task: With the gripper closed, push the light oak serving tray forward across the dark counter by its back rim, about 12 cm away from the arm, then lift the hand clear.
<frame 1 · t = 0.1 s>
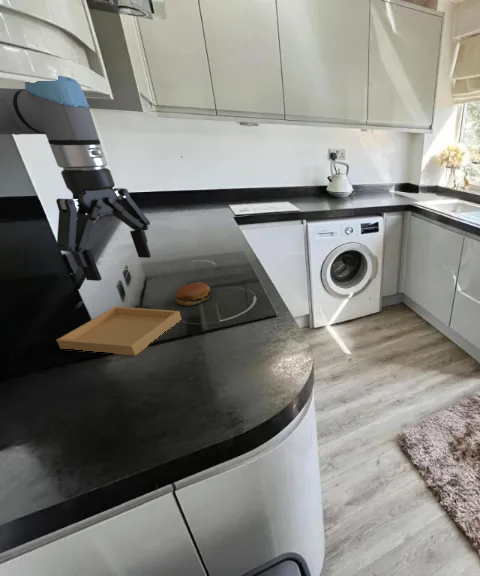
hand: (121, 267, 73), 20 cm above the table, tool pointing down, fingers open, 13 cm apart
burger: (195, 300, 102), on the table
tray: (126, 333, 85), on the table
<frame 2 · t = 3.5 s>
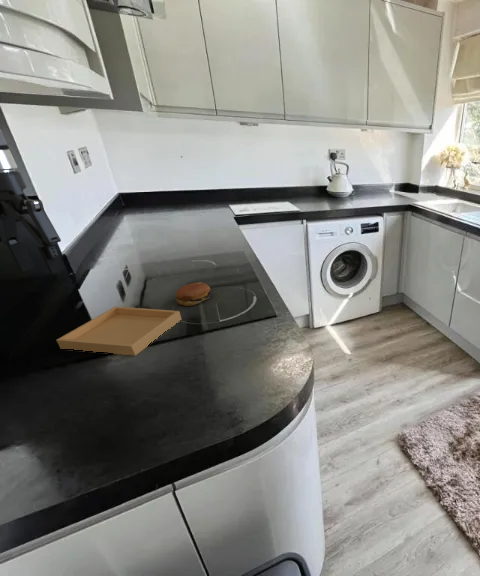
hand: (42, 270, 79), 17 cm above the table, tool pointing down, fingers open, 7 cm apart
nothing on the table moved.
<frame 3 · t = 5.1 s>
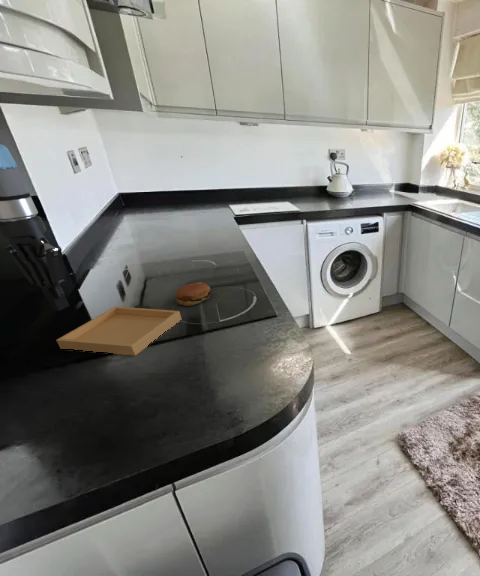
hand: (61, 308, 83), 6 cm above the table, tool pointing down, fingers closed
nothing on the table moved.
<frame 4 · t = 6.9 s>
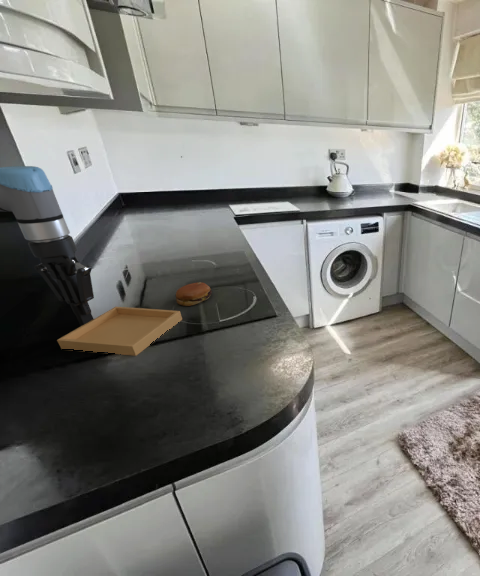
hand: (87, 324, 85), 2 cm above the table, tool pointing down, fingers closed
tray: (126, 333, 85), on the table, touching gripper
everything else where it was.
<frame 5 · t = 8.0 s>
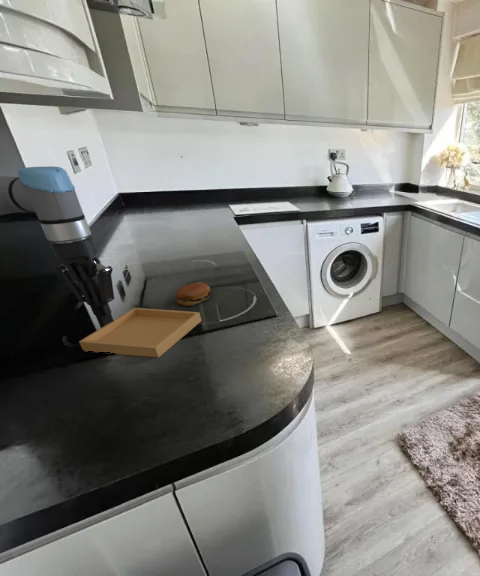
hand: (107, 325, 84), 2 cm above the table, tool pointing down, fingers closed
tray: (147, 334, 84), on the table, touching gripper
everything else where it was.
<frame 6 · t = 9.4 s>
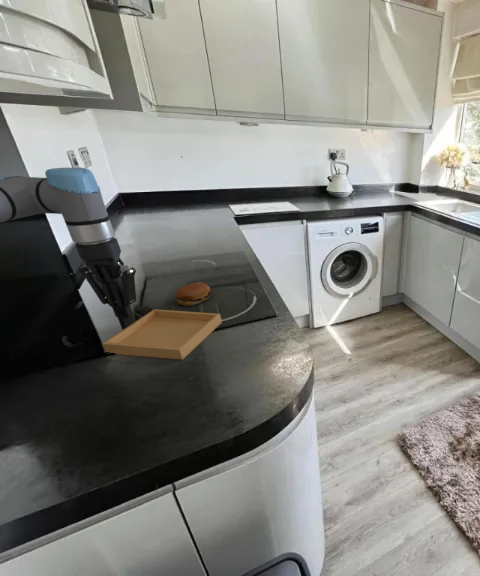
hand: (129, 327, 84), 2 cm above the table, tool pointing down, fingers closed
tray: (168, 336, 84), on the table, touching gripper
everything else where it was.
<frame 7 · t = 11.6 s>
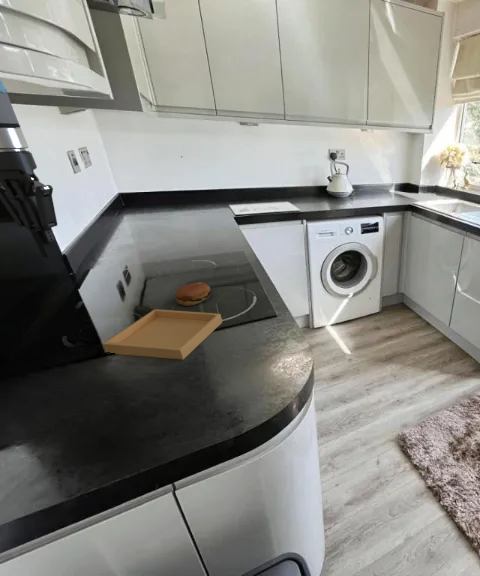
hand: (51, 255, 78), 21 cm above the table, tool pointing down, fingers closed
tray: (169, 336, 84), on the table
everything else where it was.
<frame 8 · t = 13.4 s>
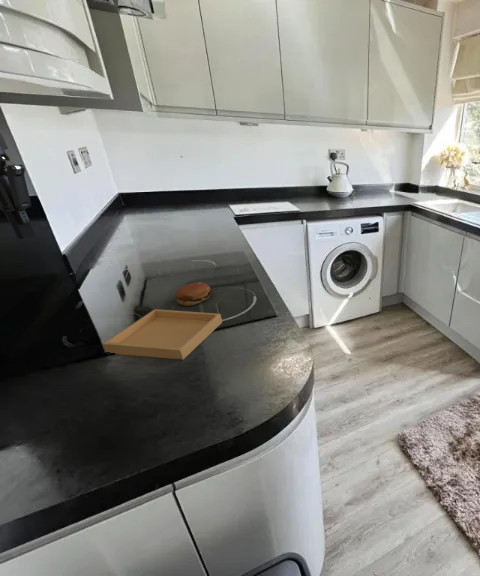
hand: (27, 237, 79), 24 cm above the table, tool pointing down, fingers closed
nothing on the table moved.
at the end: tray moved 12.1 cm from its start; tray inside the target area (0.9 cm from its centre), on the table; tray tilted 0° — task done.
